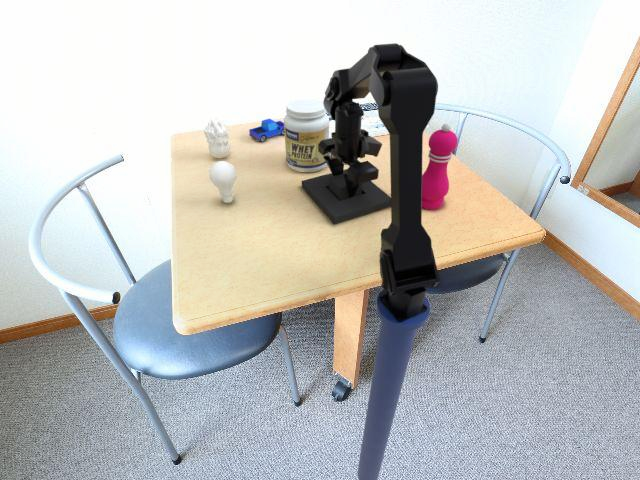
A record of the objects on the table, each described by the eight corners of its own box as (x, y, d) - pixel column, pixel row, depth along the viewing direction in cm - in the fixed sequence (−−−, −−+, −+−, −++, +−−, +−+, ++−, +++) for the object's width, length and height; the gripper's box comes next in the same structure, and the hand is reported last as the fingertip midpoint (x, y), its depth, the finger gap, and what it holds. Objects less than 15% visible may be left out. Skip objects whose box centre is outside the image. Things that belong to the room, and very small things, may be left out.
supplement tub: (281, 171, 103) (275, 111, 92) (293, 152, 112) (290, 95, 101) (323, 176, 100) (323, 115, 89) (332, 156, 109) (333, 98, 99)
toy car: (290, 134, 122) (289, 119, 118) (259, 144, 116) (257, 129, 113) (279, 128, 126) (278, 113, 122) (248, 137, 120) (246, 122, 117)
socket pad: (392, 206, 89) (393, 199, 88) (334, 224, 84) (334, 217, 82) (354, 173, 102) (354, 166, 100) (301, 187, 96) (301, 180, 95)
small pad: (361, 196, 91) (362, 182, 88) (340, 202, 89) (340, 188, 86) (349, 185, 95) (349, 171, 93) (328, 190, 93) (328, 177, 91)
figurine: (213, 151, 113) (205, 112, 105) (234, 151, 113) (228, 112, 105) (207, 162, 107) (198, 122, 100) (230, 162, 107) (223, 122, 100)
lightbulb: (219, 195, 94) (211, 156, 86) (243, 196, 93) (236, 156, 86) (213, 209, 89) (203, 168, 82) (237, 210, 88) (230, 169, 81)
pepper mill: (451, 205, 89) (472, 126, 76) (428, 214, 86) (447, 133, 74) (430, 191, 94) (447, 114, 81) (408, 199, 91) (422, 121, 78)
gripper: (402, 138, 78) (394, 200, 88) (357, 110, 91) (353, 166, 101) (357, 149, 74) (353, 212, 84) (316, 118, 87) (317, 176, 97)
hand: (345, 190), depth 91 cm, fingers closed on small pad, 6 cm apart
